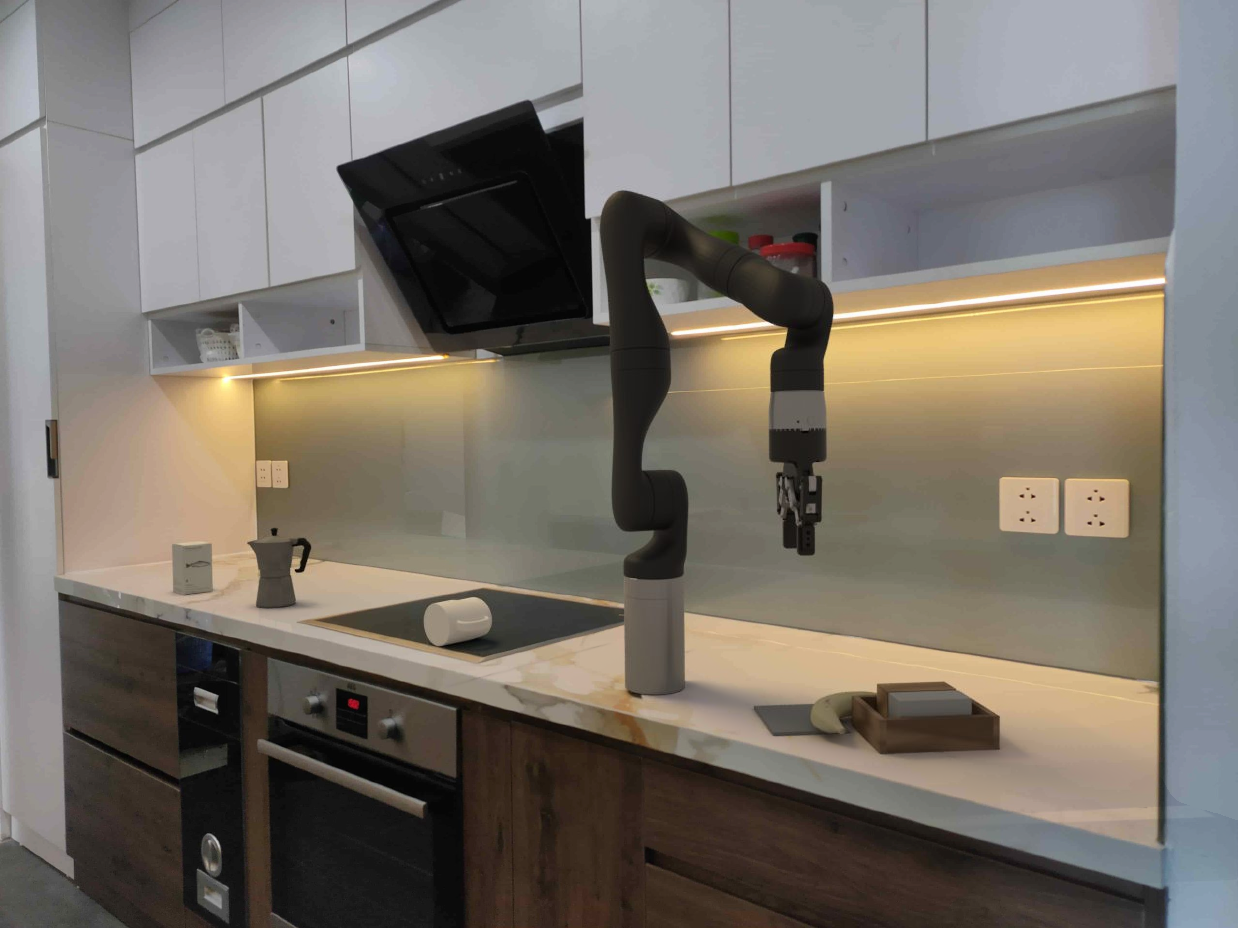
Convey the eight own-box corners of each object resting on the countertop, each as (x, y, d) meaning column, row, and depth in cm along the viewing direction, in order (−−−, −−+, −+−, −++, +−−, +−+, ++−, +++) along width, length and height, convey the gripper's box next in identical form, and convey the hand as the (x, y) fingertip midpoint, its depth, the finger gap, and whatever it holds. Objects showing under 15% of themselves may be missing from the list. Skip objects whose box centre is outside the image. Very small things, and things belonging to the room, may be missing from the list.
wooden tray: (851, 725, 114) (851, 695, 114) (961, 721, 115) (961, 691, 115) (880, 753, 104) (879, 720, 104) (999, 748, 105) (999, 716, 105)
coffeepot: (238, 607, 200) (236, 530, 200) (259, 600, 210) (257, 525, 209) (303, 608, 199) (301, 529, 198) (320, 600, 208) (319, 525, 208)
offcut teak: (876, 729, 113) (876, 683, 113) (944, 726, 113) (944, 681, 113) (887, 738, 109) (887, 691, 109) (956, 735, 110) (956, 689, 110)
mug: (421, 642, 164) (420, 600, 164) (461, 633, 171) (460, 593, 171) (461, 652, 156) (460, 608, 156) (501, 642, 163) (500, 600, 163)
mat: (753, 708, 122) (753, 705, 121) (823, 706, 122) (823, 703, 122) (773, 735, 111) (773, 732, 111) (850, 732, 111) (849, 729, 111)
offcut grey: (888, 740, 109) (888, 692, 109) (958, 737, 109) (958, 690, 109) (899, 749, 105) (899, 701, 105) (971, 747, 106) (971, 698, 106)
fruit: (856, 675, 122) (851, 697, 122) (794, 702, 111) (789, 726, 112) (902, 698, 117) (897, 720, 117) (842, 728, 106) (837, 752, 107)
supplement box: (183, 595, 217) (182, 545, 217) (172, 592, 222) (171, 543, 222) (213, 591, 222) (212, 542, 222) (202, 588, 228) (201, 540, 227)
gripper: (757, 427, 122) (758, 545, 123) (783, 425, 108) (784, 559, 108) (809, 427, 123) (810, 544, 123) (842, 425, 108) (843, 558, 109)
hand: (798, 551), depth 116 cm, fingers open, 6 cm apart
